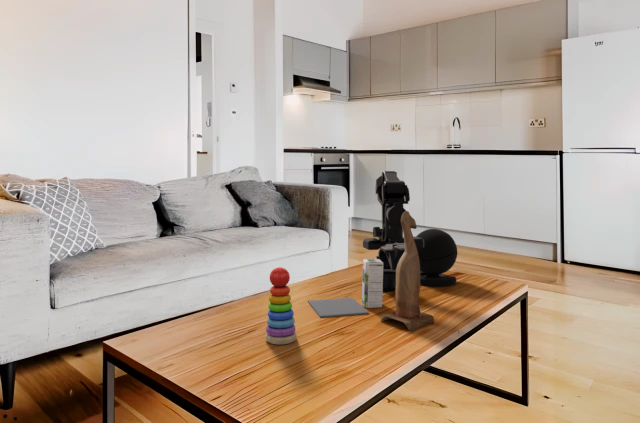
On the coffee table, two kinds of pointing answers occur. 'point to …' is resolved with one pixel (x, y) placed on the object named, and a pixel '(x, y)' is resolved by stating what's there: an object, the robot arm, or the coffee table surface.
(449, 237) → the webcam
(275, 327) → the stacking toy
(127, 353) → the coffee table surface
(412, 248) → the bird sculpture
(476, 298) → the coffee table surface
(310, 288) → the coffee table surface
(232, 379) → the coffee table surface
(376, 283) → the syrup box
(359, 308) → the mat
